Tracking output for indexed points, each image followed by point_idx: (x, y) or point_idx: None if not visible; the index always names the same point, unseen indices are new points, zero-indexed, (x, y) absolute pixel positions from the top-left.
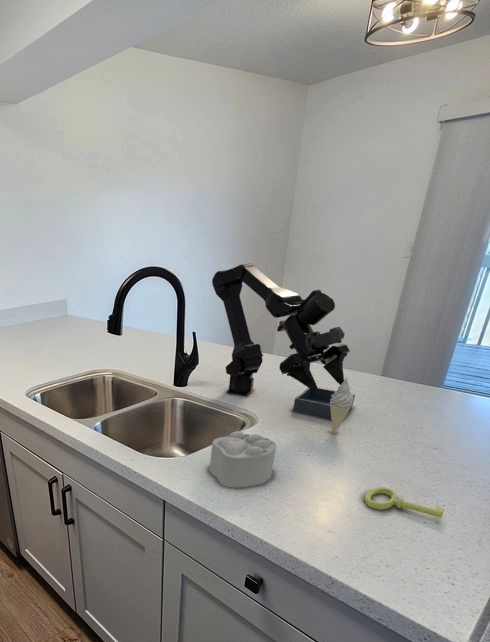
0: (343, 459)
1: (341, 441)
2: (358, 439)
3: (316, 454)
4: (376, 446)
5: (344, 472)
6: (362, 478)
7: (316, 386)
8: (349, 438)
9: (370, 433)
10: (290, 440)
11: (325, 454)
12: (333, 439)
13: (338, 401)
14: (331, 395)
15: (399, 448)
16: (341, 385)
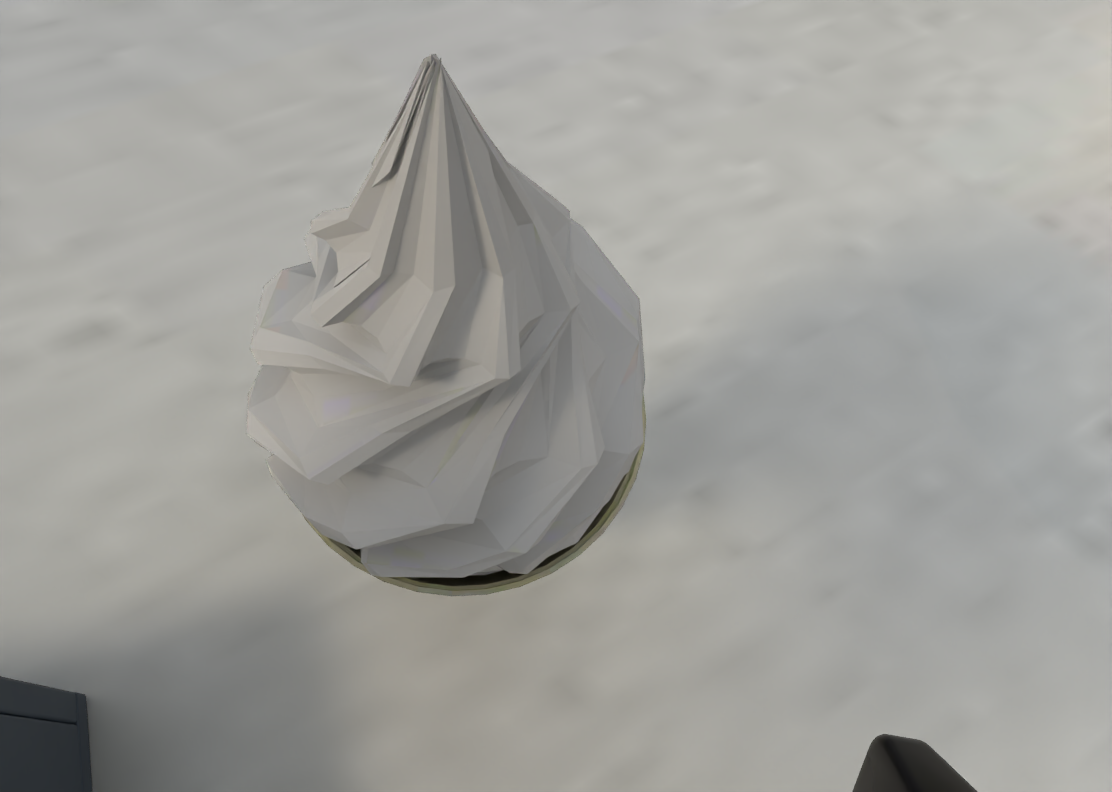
0: (910, 216)
1: None
2: None
3: (1040, 397)
4: None
5: (1078, 123)
6: (1034, 22)
7: (938, 788)
8: None
9: (190, 304)
10: (1037, 753)
11: (968, 348)
12: None
13: (642, 341)
14: (541, 536)
15: (344, 37)
16: (513, 270)
